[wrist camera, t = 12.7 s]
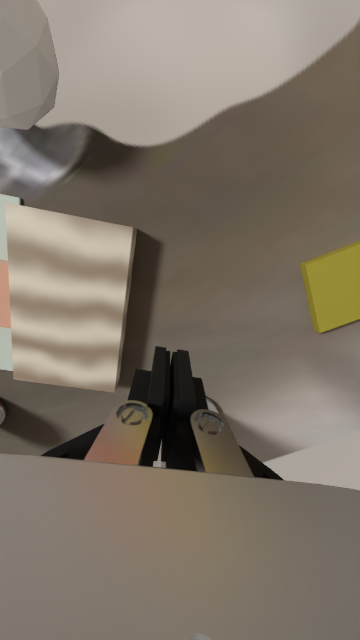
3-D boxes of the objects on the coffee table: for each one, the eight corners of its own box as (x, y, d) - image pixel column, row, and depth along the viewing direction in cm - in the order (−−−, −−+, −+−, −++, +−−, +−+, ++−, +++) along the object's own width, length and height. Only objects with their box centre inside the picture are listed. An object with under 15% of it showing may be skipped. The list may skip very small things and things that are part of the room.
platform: (119, 378, 43) (114, 392, 39) (27, 366, 41) (13, 379, 38) (137, 228, 35) (133, 227, 31) (24, 206, 33) (5, 202, 29)
